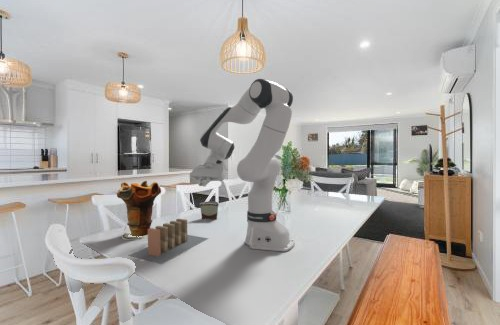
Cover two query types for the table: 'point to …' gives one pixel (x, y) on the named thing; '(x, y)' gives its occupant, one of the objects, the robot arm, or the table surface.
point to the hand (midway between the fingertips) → (201, 185)
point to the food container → (209, 210)
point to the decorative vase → (138, 207)
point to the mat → (169, 251)
